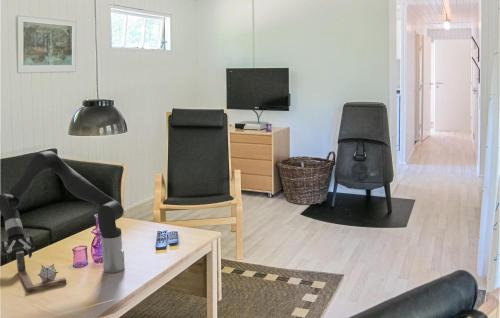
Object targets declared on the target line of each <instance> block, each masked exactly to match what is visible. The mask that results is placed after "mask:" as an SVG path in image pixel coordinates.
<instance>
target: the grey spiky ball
mask: <svg viewBox="0 0 500 318" xmlns="http://www.w3.org/2000/svg"><path fill="white" fill-rule="evenodd" d="M54 265H55V264H54V263H52V265H44V266H43V265H42V264H41V269H40V272H39V273H38V274H37V276H39V278H40V279H41V281H42V283H44V282H49V281H53V280H56V276H57V274H58V273H59V271H57V269H56V268H55V266H54Z"/></svg>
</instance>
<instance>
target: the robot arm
mask: <svg viewBox="0 0 500 318" xmlns="http://www.w3.org/2000/svg"><path fill="white" fill-rule="evenodd" d="M45 171H52V172H54V173H55V174H56V175H57V176H58V177H59V178H60V179H61V181H62V182H63V183H62V184H63V186H64V188H66V190H67V191H68V192H70V193H71V194H72V195H73V196H75V197H76V198H78V199H80V200H82V201H86V202H89V203H92V204H94V205H96V206H98V209H97V221H98V222H97V223H98V230H99V232H100V234H101V235H100V237H101V249H102V250H101V251H102V253H101V254H102V264H103V265H102V268H103V269H102V270H103V271H104V273H106V274H107V273H108V274H110V273H111V274H113V273H114V274H115V273H119V272H121V271H123V270H125V269H126V267H125V251H124V250H123V241H122V236H123V235H122V229H121V227H118V226H117V224H116V221H118V220H119V219H121V218H122V217H123V216H124V213H125V210H124V207H123V206H122V204H121V203H120V202H118V200H116V199H114V198H112V197H111V196H109V195H108V194H106V193H104V192H103V191H102V190H100V189H99V188H98V187H96V186H95V185H94V184H92V182H90V181H89V180H88V179H86V178H85V177H83V175H81V174H80V173H78V172H77V171H76V170H75V169H73V168H72V167H71V166H69V165H68V164H67V163H66V162H65V161H64V160H63V159H62V158H61V157H60V156H59V155H58V154H56V153H55V152H54V151H52V150H45V151H40V152H36V153H34V155H33V156H32V158H31V159H30V161H29V162H28V164H27V166H26V168H25V169H24V171H23V172H22V174H21V175H20V176H19V178H18V179H17V180H16V181H15V182H14V183H13V185H11V187H10V189H9V194H8V193H1V194H0V214H1V215H2V216H3V221H4V229H5V233H6V238H7V241H1V242H0V248H1V255H3V256H4V255H6V258H7V261H8V262H12V255H11V253H12V251H13V250H17V249H22V248H23V249H24V250H26V251H27V255H28V258H29V259H31V257H32V256H33V252H32V250H34V249H35V242H34V239H33V236H31V235H30V236H29V237H26V236H25V232H24V229H23V224H22V220H21V217H20V212H19V211H18V210H17V209H16V208H18V207H19V206H20V205H21V202H22V200H23V198H24V196H25V195H26V194H27V193H28V191H29V190H30V189H31V187H32V186H33V182H34V180H35V178H36V177H37V176H38V175H39V174H40V173H42V172H45ZM27 242H28V243H29V244H30V245H28V243H27ZM7 246H8V249H7V250H6V249H5V247H7Z"/></svg>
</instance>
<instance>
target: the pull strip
mask: <svg viewBox="0 0 500 318" xmlns="http://www.w3.org/2000/svg"><path fill="white" fill-rule="evenodd" d="M15 257H16V267H17V273H18V275H19V278H20V279H21V281H22V283H23V285H24V288H25V289H26V292H27V293H28V294H29V293H34V292H39V291H43V290H46V289H50V288H54V287H59V286H63V285H66V284H67V278H66V277H63V278H58V279H54V280H53V281H49V282H44V283H43V282H40V283H37V284H36V283H35V284H34V283H33V281H32V280H31V278H30V276H29V274H28V273H27V272H28V271H26V261H25V252H24V250H20V251H19V250H18V251H16V252H15Z"/></svg>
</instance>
